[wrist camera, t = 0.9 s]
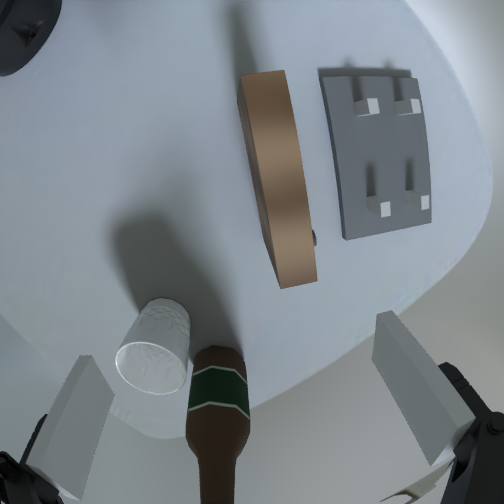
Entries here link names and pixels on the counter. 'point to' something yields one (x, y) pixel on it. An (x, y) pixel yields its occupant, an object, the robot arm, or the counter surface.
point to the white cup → (156, 348)
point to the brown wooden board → (278, 176)
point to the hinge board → (378, 153)
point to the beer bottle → (218, 420)
